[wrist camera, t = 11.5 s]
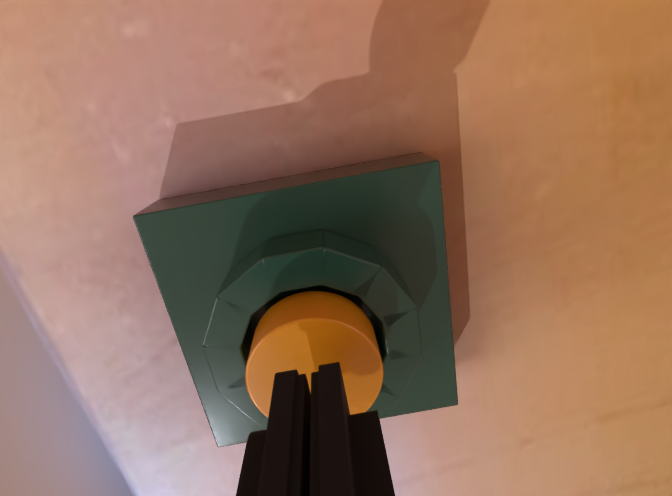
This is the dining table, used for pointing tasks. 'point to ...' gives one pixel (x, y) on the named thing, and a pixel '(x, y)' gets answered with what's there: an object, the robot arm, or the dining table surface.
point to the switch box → (308, 276)
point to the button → (315, 347)
